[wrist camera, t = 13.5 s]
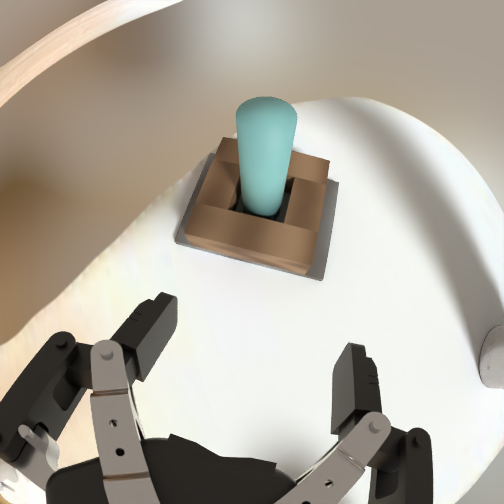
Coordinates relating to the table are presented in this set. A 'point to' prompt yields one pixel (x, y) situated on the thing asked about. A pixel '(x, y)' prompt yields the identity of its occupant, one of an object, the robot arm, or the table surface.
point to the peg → (264, 153)
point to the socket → (259, 229)
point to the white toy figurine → (19, 487)
